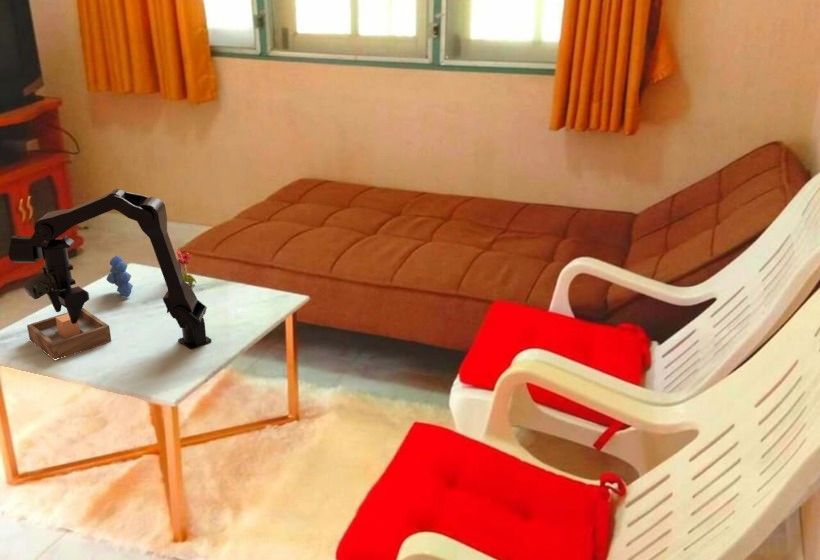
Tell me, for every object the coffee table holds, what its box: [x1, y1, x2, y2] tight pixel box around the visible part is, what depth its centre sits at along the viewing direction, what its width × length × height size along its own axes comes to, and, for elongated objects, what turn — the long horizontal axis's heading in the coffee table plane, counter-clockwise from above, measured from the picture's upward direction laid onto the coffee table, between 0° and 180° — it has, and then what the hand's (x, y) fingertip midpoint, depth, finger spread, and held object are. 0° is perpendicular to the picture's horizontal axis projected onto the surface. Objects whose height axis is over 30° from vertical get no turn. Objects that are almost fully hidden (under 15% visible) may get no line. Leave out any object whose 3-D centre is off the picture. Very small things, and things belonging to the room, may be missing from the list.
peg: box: [55, 312, 80, 339], centre depth 202 cm, size 4×4×7 cm
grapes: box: [105, 255, 134, 298], centre depth 227 cm, size 12×7×12 cm, turn 39°
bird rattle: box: [176, 250, 197, 284], centre depth 237 cm, size 6×11×9 cm
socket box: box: [26, 307, 112, 360], centre depth 203 cm, size 15×15×4 cm
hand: (66, 317), depth 201 cm, fingers open, 9 cm apart
